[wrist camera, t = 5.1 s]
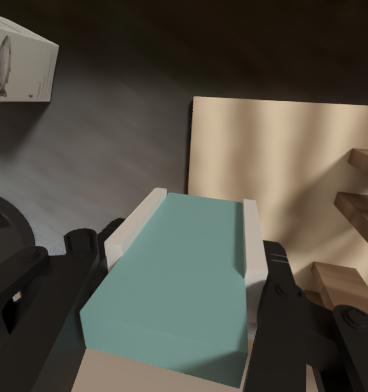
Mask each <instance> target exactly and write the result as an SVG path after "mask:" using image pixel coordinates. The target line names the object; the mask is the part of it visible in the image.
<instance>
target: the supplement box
mask: <svg viewBox="0 0 368 392" xmlns="http://www.w3.org/2000/svg"><path fill="white" fill-rule="evenodd" d="M58 50H59V46H58V45H56V44H54V43H52V42H50V41H48V40H47V39H45V38H43V37H41V36H39V35H37V34H35V33H33V32H31V31H29V30H27V29H25V28H24V27H22V26H20V25H18V24H16V23H14V22H12V21H10V20H8V19H5V18H2V17H0V102H50V98H51V89H52V82H53V76H54V71H55V65H56V60H57V55H58Z"/></svg>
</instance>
